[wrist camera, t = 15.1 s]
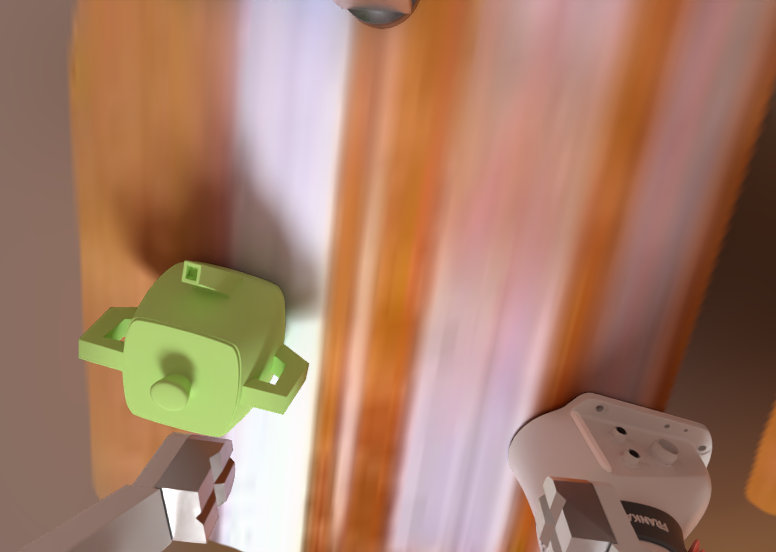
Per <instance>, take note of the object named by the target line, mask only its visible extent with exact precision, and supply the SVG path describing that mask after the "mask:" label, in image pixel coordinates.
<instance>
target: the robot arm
mask: <svg viewBox="0 0 776 552" xmlns="http://www.w3.org/2000/svg"><path fill="white" fill-rule="evenodd" d="M597 406H599V407H597ZM232 451H233V446H232V440H228V439H222V438H215V437H208V436H201V435H194V434H185V433H178V432H173V433H171V434H170V435H169V436H167V438H166V439H165V440H164V442H163V443H162V445H161V446H160V447H159V449H158V450H157V451H156V453H155V454H154V456H153V457H152V458H151V460H150V461H149V463H148V464H147V465H146V467H145V468H144V469H143V471H142V472H141V474H140V475H139V476H138V478H137V479H136V481H135V482H134V483H133V485H125V486H123V487H122V488H120V489H118V490H117V491H115V492H114V493H112V494H110V495H109V496H107V497H105V498H104V499H102V500H100V501H99V502H97V503H95V504H94V505H92V506H91V507H89V508H87V509H86V510H84V511H82V512H81V513H79V514H77V515H76V516H74V517H72V518H71V519H69V520H68V521H66V522H64V523H63V524H61V525H59V526H58V527H56V528H54V529H53V530H51V531H49V532H48V533H46V534H44V535H43V536H41V537H39V538H38V539H36V540H35V541H33V542H31V543H30V544H28V545H26V546H25V547H23V548H21V549H20V550H18V551H17V552H161V551H162V550H164V549H165V548H166V547H167V546H168V545H169V544H170V543H171V542H172V541H171V540H175V541H186V542H196V543H207V541H208V539H209V537H210V535H211V533H212V530H213V528H214V526H215V524H216V522H217V520H218V518H219V517H218V509H217V508H218V507H219V506H220V505H222V504H223V503H224V502H226V501H227V498H228V496H229V494H230V492H231V489H232V485H233V481H234V477H235V462H234V461H233V460H232V459H231V458H230V455H231V453H232ZM711 452H712V438H711V435H710V432H709V431H708V429H707V427H706V426H705V425H704V424H701V423H699V422H695V421H692V420H688V419H684V418H681V417H677V416H674V415H670V414H667V413H663V412H659V411H656V410H652V409H649V408H645V407H641V406H638V405H634V404H631V403H627V402H623V401H620V400H616V399H613V398H609V397H605V396H602V395H598V394H595V393H584V394H582V395H580V396H578V397H577V398H575V399H574V400H572V401H571V402H570V403H568V404H567V405H566V406H565V407H563V408H560V409H558V410H555V411H552V412H549V413H546V414H544V415H542V416H539V417H538V418H536V419H534V420H532V421H531V422H529V423H528V424H526V425H525V426H524V427H523V428H522V429H521V430H520V431H519V432H518V433H517V435H516V436H515V437H514V439H513V441H512V443H511V445H510V448H509V454H508V459H509V465H510V468H511V470H512V472H513V474H514V475H515V477H516V478H517V480H518V482H519V483H520V485H521V487H522V489H523V491H524V493H525V495H526V497H527V500H528V502H529V504H530V507H531V509H532V512H533V515H534V517H535V520H536V531H537V538H538V543H539V548H540V552H687V551H686V549H685V545H684V539H685V538H686V537H687V536H688V535H689V533H690V532H691V531H692V530H693V529H694V527H695V526H696V525H697V523H698V522H699V520H700V519H701V517H702V516H703V514H704V512H705V510H706V508H707V506H708V503H709V500H710V495H711V480H710V476H709V474H708V471H707V465H708V463H709V460H710V456H711ZM698 551H699V541H698V540H695V541H694V543H693V544H692V546H691V548H690V549H689V551H688V552H698ZM699 552H705V550H704V549H702V550H701V551H699Z"/></svg>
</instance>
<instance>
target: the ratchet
mask: <svg viewBox="0 0 776 552" xmlns="http://www.w3.org/2000/svg"><path fill="white" fill-rule="evenodd" d="M418 3H419V0H412V7H411V14H412V13H413V11H414V10H415V8H416V7H417V5H418ZM348 10H349V11H350V12H351V13H352V14H353V15H354V16H355V17H356V18H357V19H358V20H359V21H361V22H362V23H364V24H366V25H368V26H370V27H373V28H379V29H385V28H391V27H394V26H397V25H399V24H400V23H402V22H403V21H405V20H406V19H407V18H408V17H409V16H410V15H411V14H406V13H393V12H379V11H366V10H353V9H348Z"/></svg>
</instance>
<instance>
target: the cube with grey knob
mask: <svg viewBox="0 0 776 552" xmlns="http://www.w3.org/2000/svg"><path fill="white" fill-rule="evenodd" d="M333 1H334V2H335V3H336V4H337V5H338V6H340V7H341V8H342V9H353V10H366V11H379V12H393V13H406V14H411V7H412V0H333Z"/></svg>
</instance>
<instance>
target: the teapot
mask: <svg viewBox="0 0 776 552" xmlns="http://www.w3.org/2000/svg"><path fill="white" fill-rule="evenodd" d="M124 336H126V337H125V342H122V341H119V340H120V339H121V338H122V337H124ZM284 337H285V300H284V296H283V293H282V291H281V289H280V288H279V287H278V286H277V285H275V284H274V283H271V282H269V281H266V280H264V279H261V278H258V277H255V276H252V275H249V274H246V273H243V272H240V271H236V270H233V269H229V268H225V267H221V266H217V265H213V264H209V263H204V262H198V261H188V260H185V261H184V262H180V263H177V264H175V265H173V266H172V267H171V268H169V269H168V270H167V271H165V272H164V273H163V274H162V275H161V276H160V277H159V278H158V279H157V281H156V282H155V283H154V284H153V285H152V287H151V288H150V289H149V291H148V292H147V294H146V295H145V297H144V298H143V300H142V302H141V303H140V305H139V307H110V308H109V309H108V310H107V311H106V312H105V313H104V314H103V315H102V316H101V317H100V318H99V319H98V320H97V321H96V322H95V323H94V324H93V325H92V326H91V327H90V328H89V329H88V330H87V331H86V332H85V333H84V334H83V335H82V336H81V337H80V338H79V358H80V359H83V360H87V361H90V362H93V363H97V364H100V365H103V366H107V367H110V368H113V369H117V370H120V371H123V385H124V393H125V398H126V402H127V405H128V407H129V409H130V411H131V412H132V413H133V414H134V415H137V416H139V417H142V418H145V419H148V420H151V421H154V422H157V423H161V424H164V425H168V426H172V427H175V428H179V429H182V430H186V431H191V432H195V433H199V434H204V435H209V436H215V437H221V436H223V435H225V434H226V433H227V432H229V431H230V430H231V429H232V428H233V427H234V426H235V425H236V424H237V423H238V422H239V421H240V420H242V419H243V418H244V417H245V415H246V414H247V413H248V412H249V411H250V410H251V409H252V408H253V407H255V408H259V409H263V410H267V411H271V412H275V413H279V414H284V413H285V411H286V410H287V408H288V406H289V405H290V403H291V402H292V400H293V399H294V397H295V396H296V394H297V393H298V391H299V389H300V388H301V386H302V385H303V383H304V382H305V380H306V376H307V371H308V367H309V363H308V362H306V361H305V360H304V359H303V358H301V357H300V356H299V355H297V354H296V353H295V352H293V351H292V350H291V349H290V348H288V347H287V346H286V345H284V344H283V343H284ZM274 374H275V375H276V376H277V377H279V379H278V381H277V383H276V385H273V384H270V383H269V382H270V381H271V379H272V377H273V375H274Z"/></svg>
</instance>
